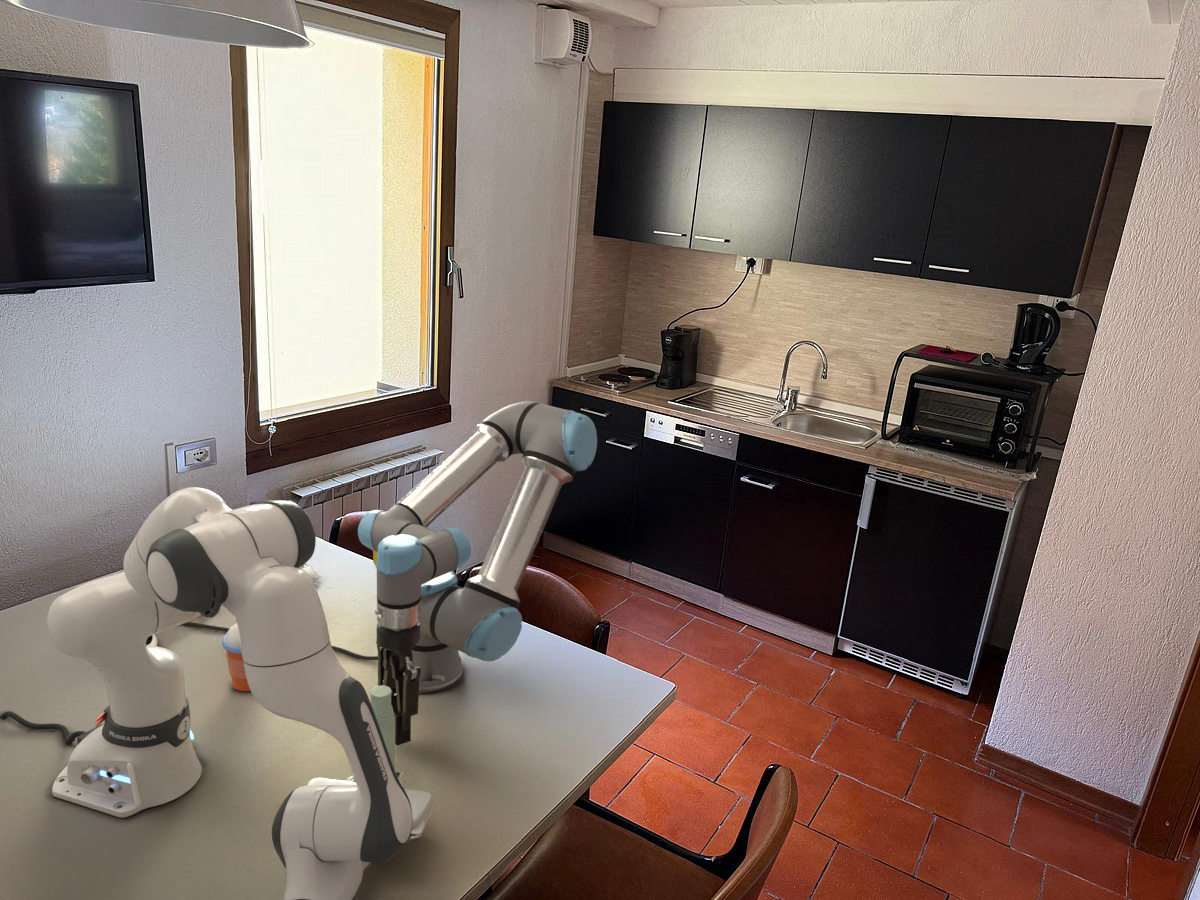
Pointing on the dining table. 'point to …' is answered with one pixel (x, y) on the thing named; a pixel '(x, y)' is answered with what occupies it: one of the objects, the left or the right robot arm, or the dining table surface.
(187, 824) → the dining table surface
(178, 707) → the left robot arm
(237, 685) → the cup with straw
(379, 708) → the bottle
